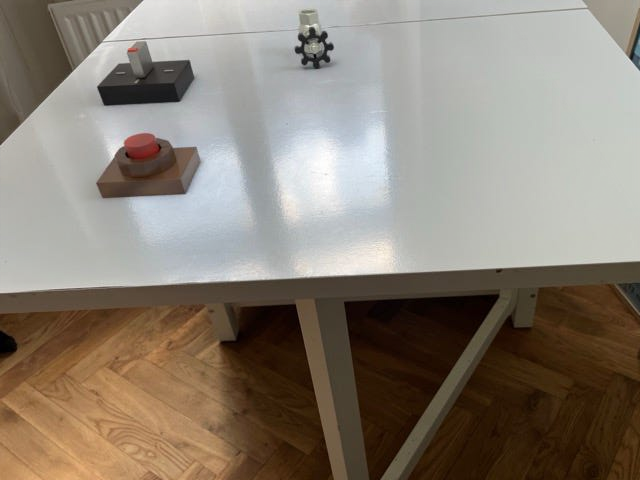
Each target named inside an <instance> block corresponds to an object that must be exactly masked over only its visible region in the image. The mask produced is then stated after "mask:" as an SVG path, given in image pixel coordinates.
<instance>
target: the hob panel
mask: <svg viewBox="0 0 640 480" xmlns="http://www.w3.org/2000/svg"><path fill="white" fill-rule="evenodd" d="M152 62H153V65H154V67H153V68H152V70H151V71H150V72H149V74H148V75H147V76H146V77H145V78H135V76H134V73H133V70H132V67H131V64H130V62H122V63H120V62H119V63H117V65H115V67H113V69H112V70H111V71H110V72H109V73H108V74H107V75H106V76H105V77H104V78H103V80H101V82H100V83H98V85H97V86H96V89H97V91H98V94H99V96H100V99H101V102H102V104H103V106H117V105H119V106H120V105H137V104H138V105H139V104H140V105H141V104H156V103H157V104H158V103H176V102H180V101H181V100H182V99H183V97H184V95H185V93H186V92H187V90H188V89H189V87H190V85H191V84H192V82H193V81H194V79H195V74H194V70H193V68H192V64H191V60H190V59H181V60H180V59H179V60H159V61H153V60H152Z"/></svg>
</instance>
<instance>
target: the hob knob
mask: <svg viewBox="0 0 640 480" xmlns="http://www.w3.org/2000/svg"><path fill="white" fill-rule="evenodd" d="M126 56H127V58H128V62H129V63H130V64H131V67H132V70H133V73H134V76H135V78H145V77H146V76H147V75H148V74H149V72H150V71H151V70H152V68H153V67H154V65H153V62H152V61H153V58H152V55H151V52H150V49H149V46H148V42H147V41H146V40H142V41H135V43H134V44H132V46H131V47H129V48H128V49H127V50H126Z"/></svg>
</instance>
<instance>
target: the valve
mask: <svg viewBox="0 0 640 480" xmlns="http://www.w3.org/2000/svg"><path fill="white" fill-rule="evenodd" d="M298 17H299V25H298V34H297V41H299V42H300V46H299V45H295V46H294V52H295V54H296V55H300V54H302V57H301V58H300V63H301V65H302V66H307V65H308V63H309V62H310V63H312V66H313V68H314V69H315V70H318V69H319V68H320V67H321V65H320V62H321V61H323V62H324V63H326V64H329V63H330V62H331V56H330V55H328V52H329V51H330V52H332V51H334V49H335V46H334V45H335V44H334V43H333V42H331V41H330V42H329V43H327V41H326V39H328V37H329V33H328V31H326V30H323V28H322V24H321V22H320V21H319V20H320V19H319V12H318V10H317V9H315V8H304V9H301V10H299V11H298ZM322 44H323V46H322ZM322 50H323V52H322V53H321V55H319V56H318V55H317V53H319V52H321V51H322ZM309 54H312V56H313V57H311V56H309Z"/></svg>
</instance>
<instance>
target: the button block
mask: <svg viewBox="0 0 640 480" xmlns="http://www.w3.org/2000/svg"><path fill="white" fill-rule="evenodd" d="M155 138H156V141H157V143H158V146H159V149H160V151H159V152H158V153H157V154H155V155H153V156H151V157H148V158H144V159H130V158H129V156H128V153H127V151H126V148H125V146H124V145H123V146H121V147H120V148H118V150H117V151H116V152H115V154H114V155H113V156H114V157H113V158H112V159H111V161H110V162H109V164H108V165H107V166H106V168H105V169H104V171H103V172H102V173H101V174H100V176H99V178H98V179H97V181H96V182H95V185H96V187H97V189H98V191H99V193H100V196H101V198H102V199H115V198H116V199H118V198H135V197H137V198H139V197H154V196H155V197H158V196H179V195H187V192H188V190H189V188H190V186H191V184H192V181H193V179H194V177H195V176H196V173H197V171H198V169H199V166H200V164H201V161H202V160H201V158H200V154H199V150H198V147H197V146H184V147H173V145H172V144H171V142H170V140H168V139H164V138H160V137H155Z"/></svg>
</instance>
